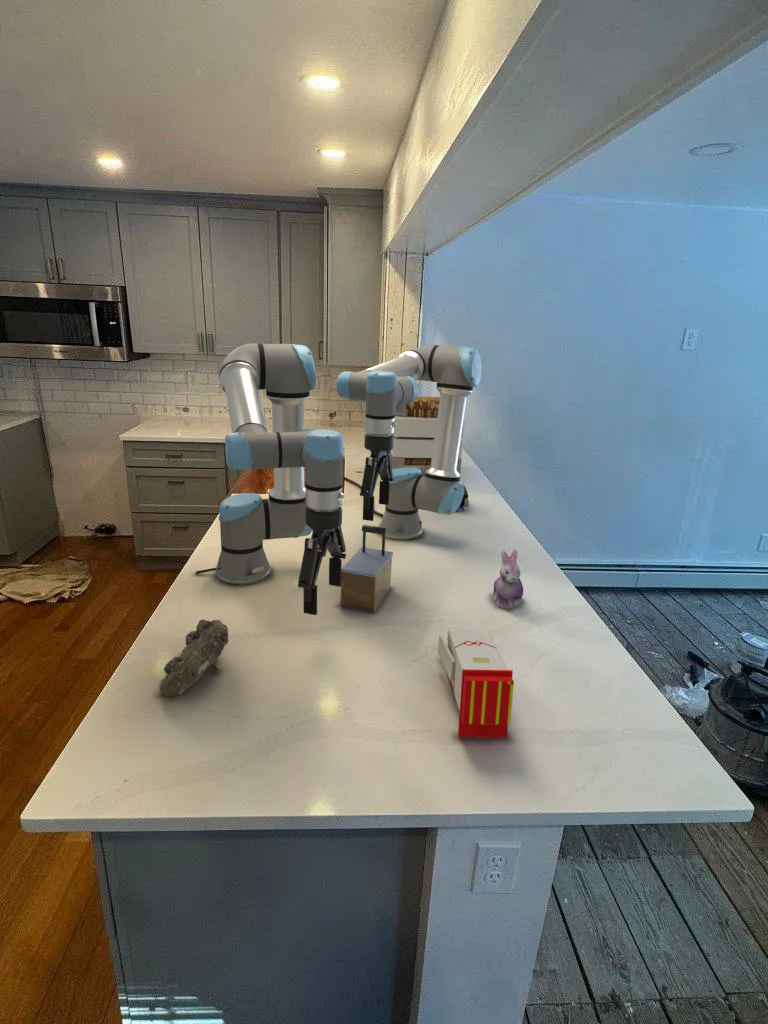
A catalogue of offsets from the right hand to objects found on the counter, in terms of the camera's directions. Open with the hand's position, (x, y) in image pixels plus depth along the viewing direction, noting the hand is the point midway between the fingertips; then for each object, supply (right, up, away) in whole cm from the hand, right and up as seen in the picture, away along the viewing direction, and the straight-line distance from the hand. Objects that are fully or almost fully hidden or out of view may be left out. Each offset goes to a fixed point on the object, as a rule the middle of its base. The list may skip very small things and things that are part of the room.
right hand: (376, 511), depth 152 cm
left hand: (-11, -19, -29) cm, 36 cm away
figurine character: (+32, +2, +78) cm, 84 cm away
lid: (-2, -14, 0) cm, 14 cm away
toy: (+20, -38, -34) cm, 54 cm away
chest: (-3, -23, +3) cm, 24 cm away
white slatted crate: (+19, +19, +123) cm, 126 cm away
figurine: (+36, -25, +4) cm, 44 cm away
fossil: (-37, -34, -30) cm, 59 cm away
